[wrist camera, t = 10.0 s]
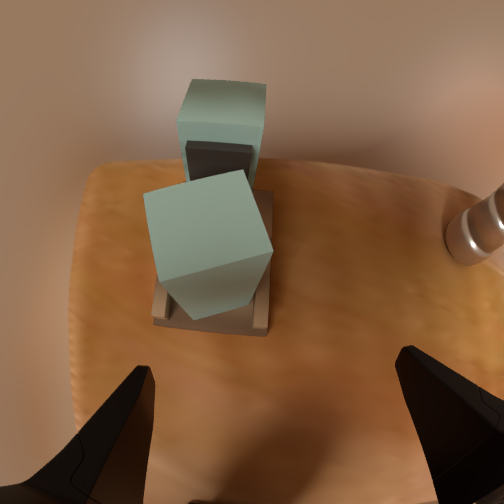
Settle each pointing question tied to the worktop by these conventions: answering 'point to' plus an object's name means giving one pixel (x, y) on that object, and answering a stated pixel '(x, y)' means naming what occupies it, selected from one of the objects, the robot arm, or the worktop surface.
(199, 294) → the block
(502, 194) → the plastic bottle
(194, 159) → the green block with base
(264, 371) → the worktop surface
